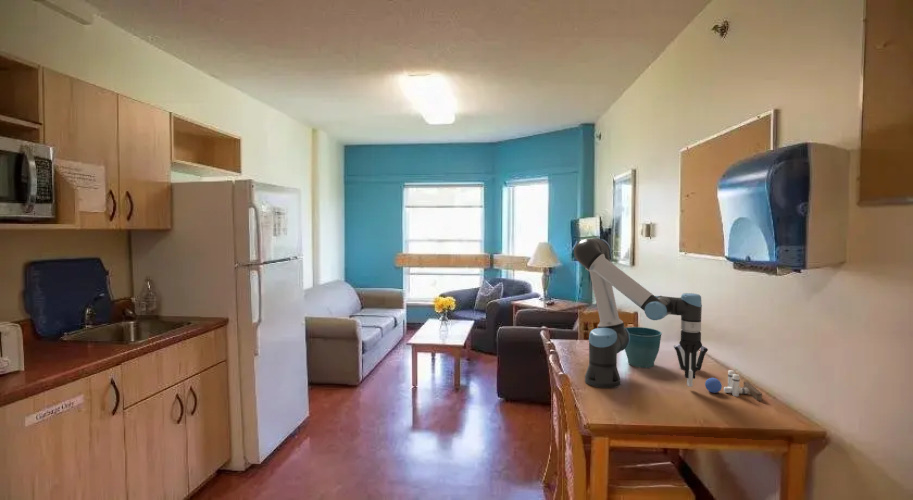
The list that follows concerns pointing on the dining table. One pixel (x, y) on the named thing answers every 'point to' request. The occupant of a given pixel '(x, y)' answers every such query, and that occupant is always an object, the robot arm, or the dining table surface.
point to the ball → (713, 385)
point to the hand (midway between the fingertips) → (689, 385)
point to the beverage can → (689, 358)
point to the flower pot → (643, 346)
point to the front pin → (741, 390)
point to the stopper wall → (753, 391)
